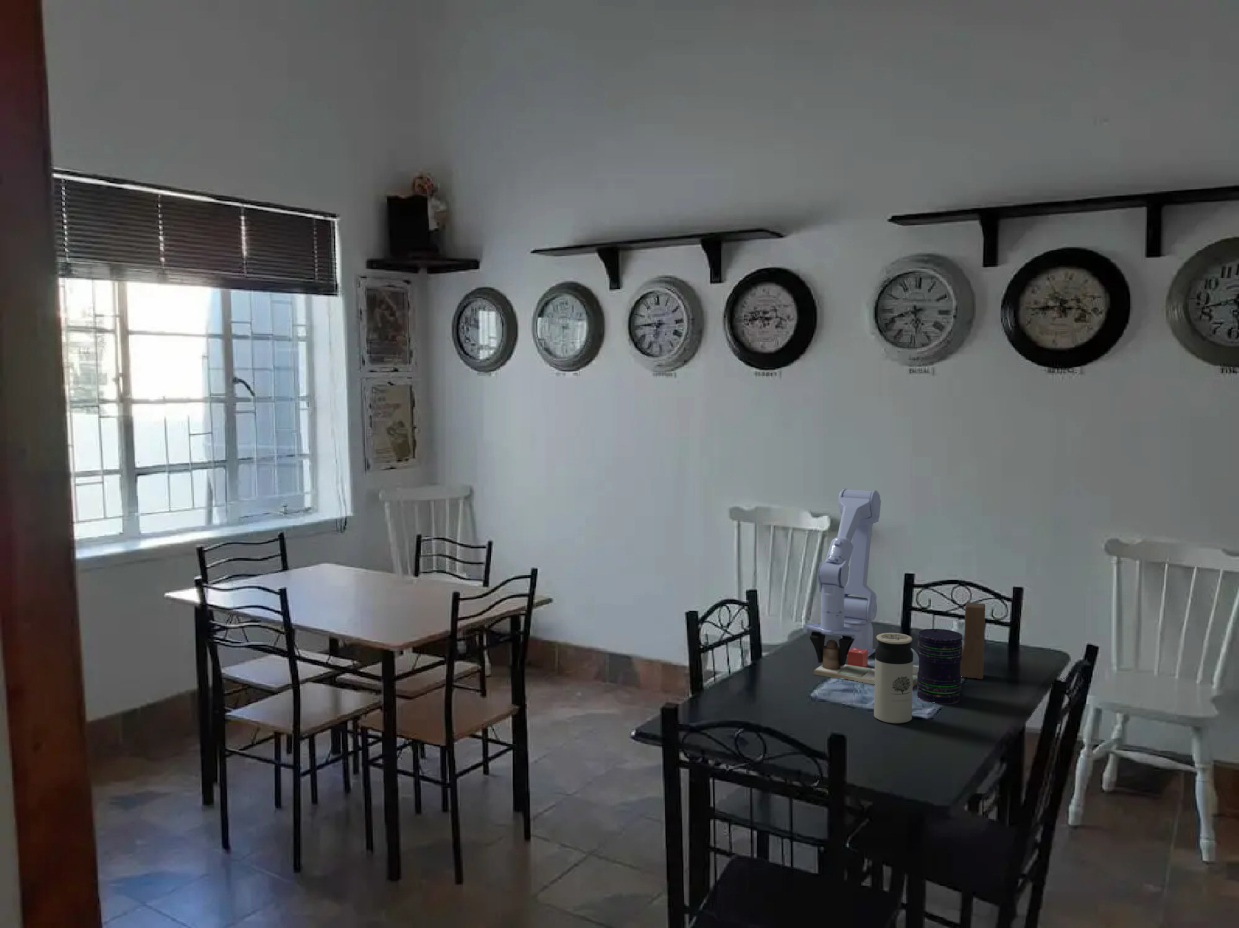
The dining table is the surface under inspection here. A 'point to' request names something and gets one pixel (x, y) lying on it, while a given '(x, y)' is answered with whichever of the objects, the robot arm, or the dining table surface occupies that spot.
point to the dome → (915, 658)
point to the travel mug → (893, 678)
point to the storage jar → (939, 666)
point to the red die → (858, 657)
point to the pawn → (831, 655)
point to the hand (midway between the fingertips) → (831, 663)
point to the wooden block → (973, 641)
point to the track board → (852, 674)
